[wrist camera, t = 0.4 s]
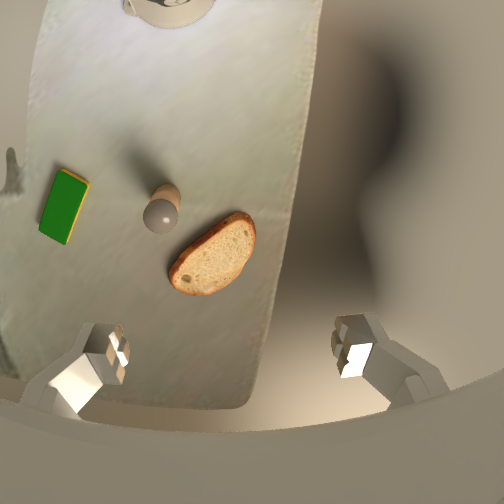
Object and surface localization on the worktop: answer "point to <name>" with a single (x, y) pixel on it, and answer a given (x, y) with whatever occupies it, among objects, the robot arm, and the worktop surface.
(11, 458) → the robot arm
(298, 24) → the worktop surface
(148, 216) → the grey-capped jar
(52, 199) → the dish sponge
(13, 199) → the worktop surface
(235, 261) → the slice of bread
